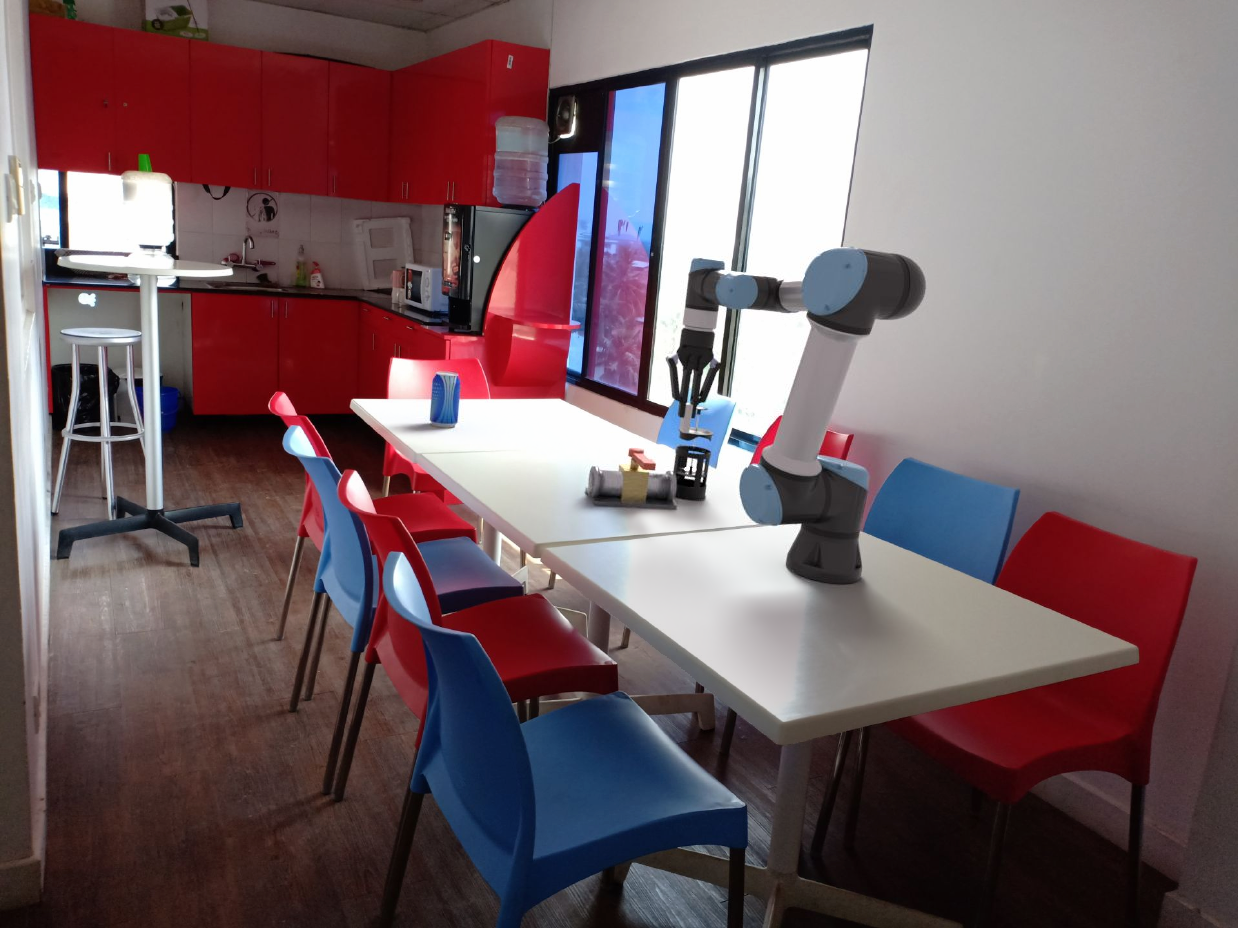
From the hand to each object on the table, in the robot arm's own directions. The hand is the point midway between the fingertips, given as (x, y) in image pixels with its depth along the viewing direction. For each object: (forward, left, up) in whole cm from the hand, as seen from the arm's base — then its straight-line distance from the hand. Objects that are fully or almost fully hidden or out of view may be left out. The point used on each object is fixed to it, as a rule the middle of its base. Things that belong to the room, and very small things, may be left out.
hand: (684, 431), depth 212 cm
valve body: (+10, +8, -20) cm, 24 cm away
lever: (+5, +8, -9) cm, 13 cm away
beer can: (+83, +50, -20) cm, 99 cm away
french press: (+18, -9, -20) cm, 28 cm away
